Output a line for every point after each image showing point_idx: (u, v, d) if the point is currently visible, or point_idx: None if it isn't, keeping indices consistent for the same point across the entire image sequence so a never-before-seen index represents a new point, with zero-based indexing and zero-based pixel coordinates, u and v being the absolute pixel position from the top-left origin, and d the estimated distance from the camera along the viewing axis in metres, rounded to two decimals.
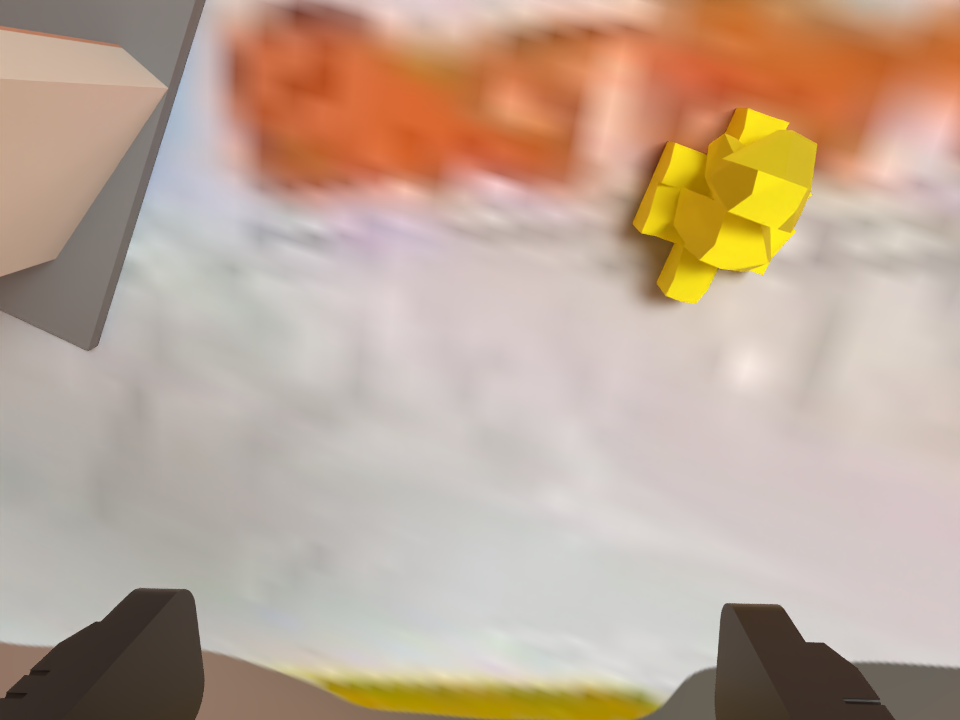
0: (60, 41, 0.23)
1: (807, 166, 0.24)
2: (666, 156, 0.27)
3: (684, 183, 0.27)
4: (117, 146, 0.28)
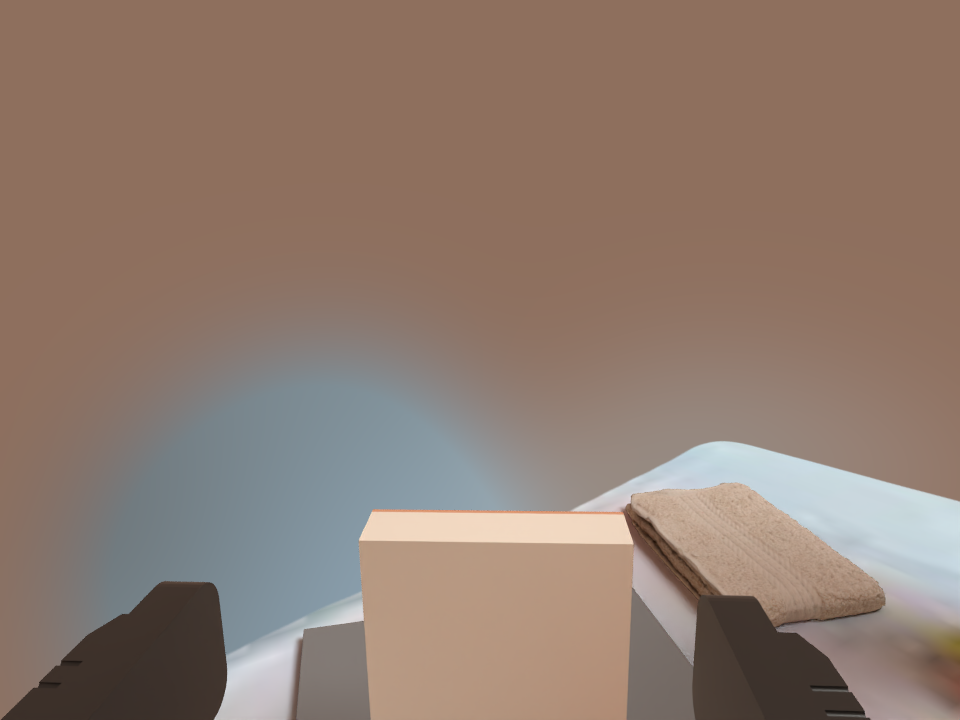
0: None
1: None
2: None
3: None
4: None
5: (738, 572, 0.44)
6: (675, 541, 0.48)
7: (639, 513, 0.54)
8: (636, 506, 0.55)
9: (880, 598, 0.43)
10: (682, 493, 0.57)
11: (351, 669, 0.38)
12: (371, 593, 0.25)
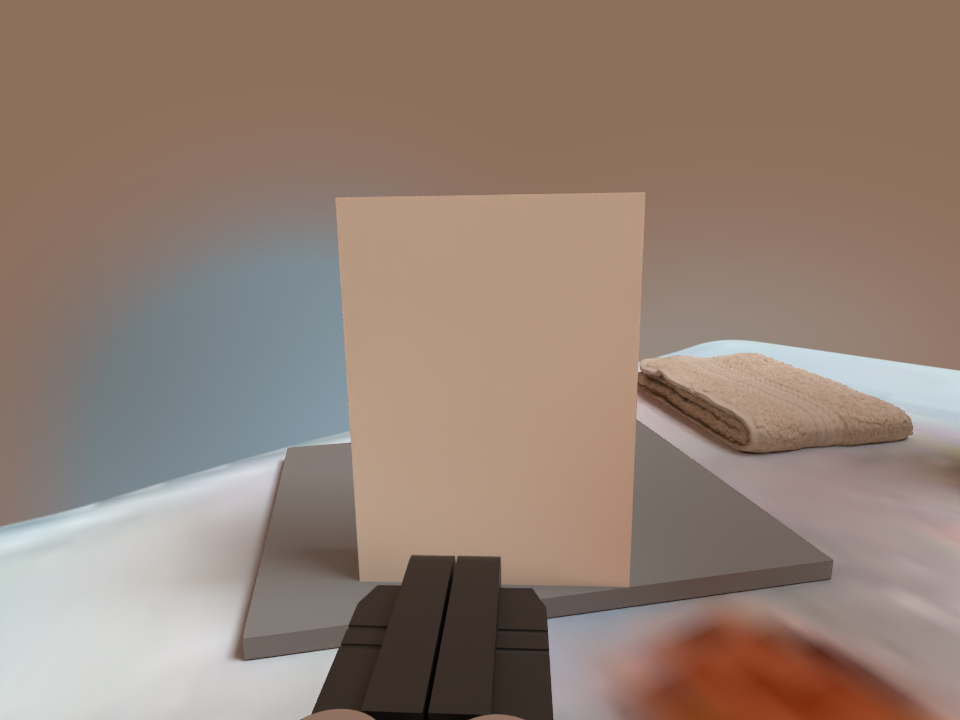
0: None
1: None
2: None
3: None
4: (544, 561, 0.24)
5: (754, 401, 0.41)
6: (686, 384, 0.46)
7: (648, 371, 0.51)
8: (645, 368, 0.52)
9: (907, 424, 0.40)
10: (694, 359, 0.54)
11: (337, 471, 0.35)
12: (350, 264, 0.22)
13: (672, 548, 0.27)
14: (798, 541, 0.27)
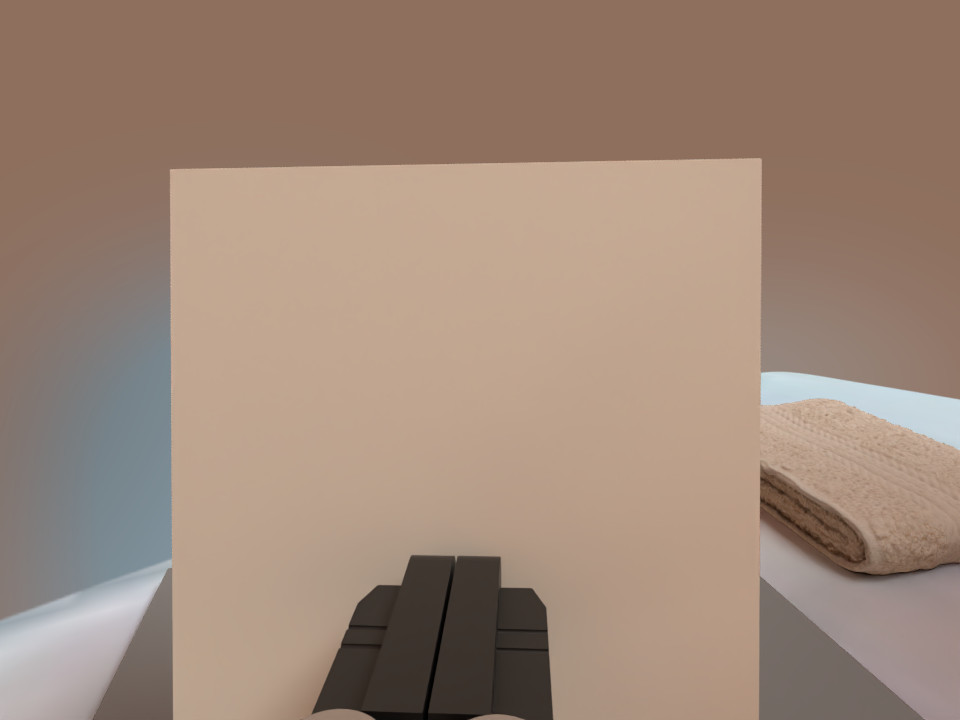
0: None
1: None
2: None
3: None
4: None
5: (861, 489, 0.29)
6: None
7: None
8: None
9: None
10: None
11: None
12: (190, 295, 0.11)
13: None
14: None
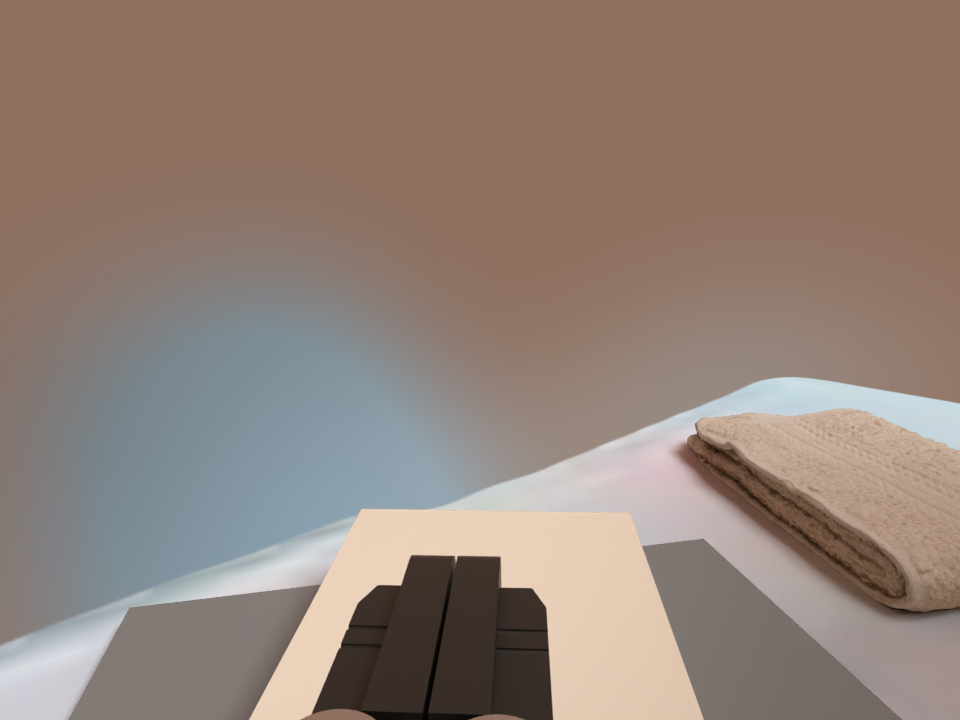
0: None
1: None
2: None
3: None
4: None
5: (898, 514, 0.26)
6: (777, 472, 0.30)
7: (712, 440, 0.36)
8: (705, 433, 0.37)
9: None
10: (772, 419, 0.39)
11: (188, 681, 0.19)
12: (356, 537, 0.23)
13: None
14: None
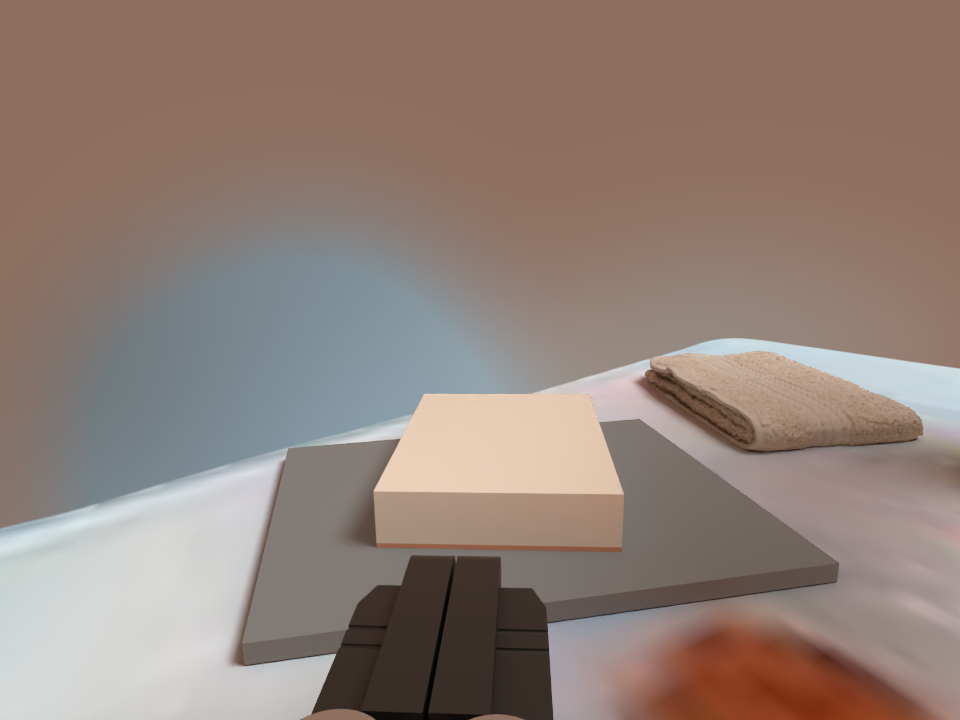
0: None
1: None
2: None
3: None
4: (544, 483, 0.27)
5: (761, 400, 0.41)
6: (694, 382, 0.46)
7: (658, 369, 0.51)
8: (655, 365, 0.52)
9: (917, 425, 0.40)
10: (705, 357, 0.54)
11: (338, 473, 0.35)
12: (424, 404, 0.38)
13: (676, 551, 0.26)
14: (803, 543, 0.27)
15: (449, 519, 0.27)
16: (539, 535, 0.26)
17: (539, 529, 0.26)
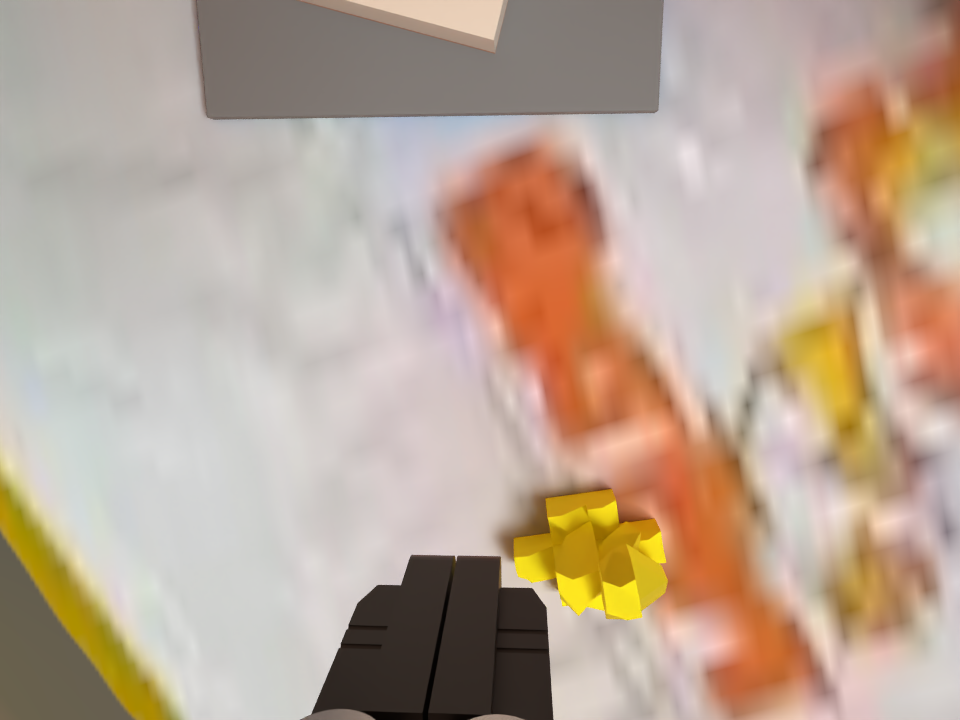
0: None
1: (651, 600, 0.33)
2: (603, 497, 0.36)
3: (593, 522, 0.35)
4: None
5: None
6: None
7: None
8: None
9: None
10: None
11: None
12: None
13: (540, 63, 0.31)
14: (653, 74, 0.31)
15: (346, 7, 0.30)
16: (425, 31, 0.30)
17: (425, 30, 0.30)
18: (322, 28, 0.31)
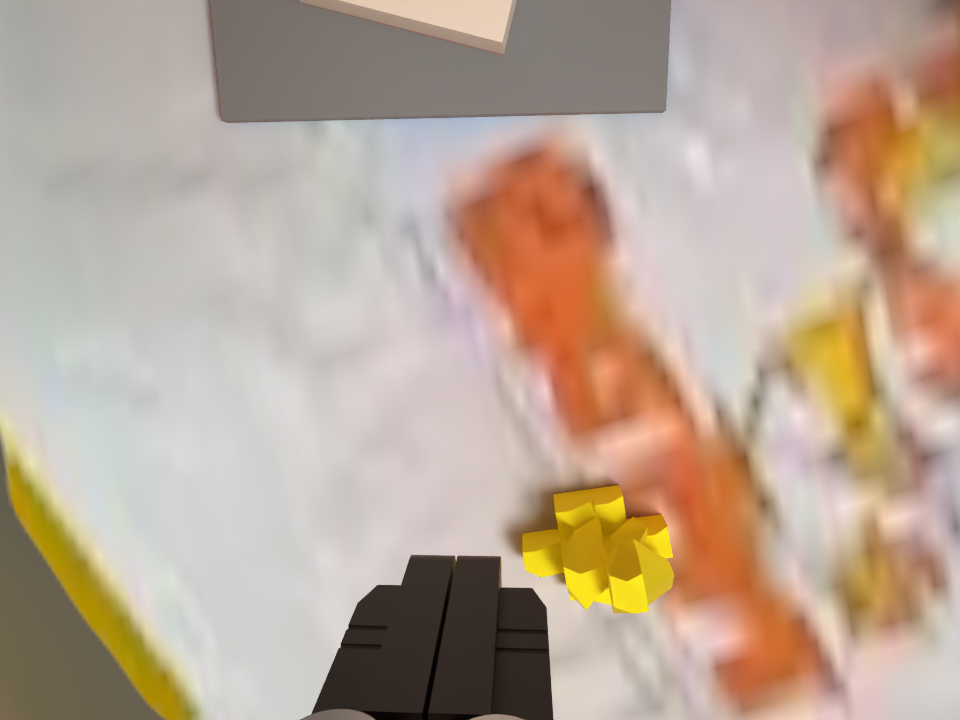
0: None
1: (657, 595, 0.33)
2: (610, 493, 0.36)
3: (601, 517, 0.36)
4: (439, 1, 0.29)
5: None
6: None
7: None
8: None
9: None
10: None
11: None
12: None
13: (548, 64, 0.31)
14: (660, 74, 0.31)
15: (357, 11, 0.30)
16: (435, 34, 0.31)
17: (434, 33, 0.31)
18: (333, 32, 0.32)
